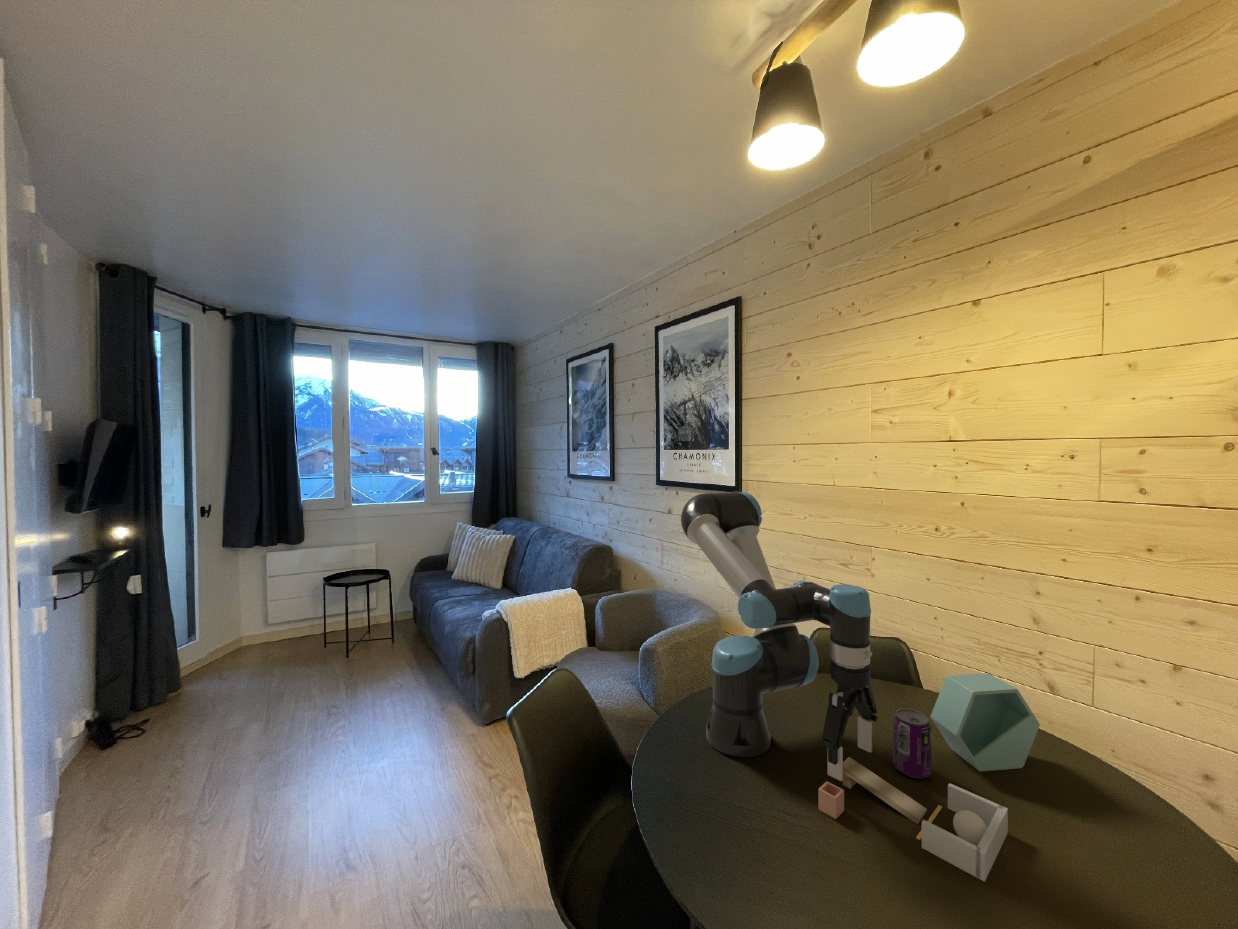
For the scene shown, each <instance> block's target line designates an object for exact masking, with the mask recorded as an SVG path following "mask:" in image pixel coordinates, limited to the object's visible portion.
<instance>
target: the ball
mask: <svg viewBox="0 0 1238 929" xmlns="http://www.w3.org/2000/svg"><path fill="white" fill-rule="evenodd" d="M952 825H953V829H954V831H955V833H956V835H957V836H958V837H960V838H962V839H964V840H966V841H967V842H969V843H971V844H973V845H975V846H978V845H979V843H980V841H981V839H982V837H983V835H984V833H985V831H986V830H987V828H988V827H986V825H985V823H984V822H983V820H982V819H981V818H980V817H979V816H978V815H976V814H975V813H973V812H971V811H967V810H962V811H959V812H955V814H954V816H953V819H952Z"/></svg>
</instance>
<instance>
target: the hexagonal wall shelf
mask: <svg viewBox="0 0 1238 929" xmlns="http://www.w3.org/2000/svg"><path fill="white" fill-rule="evenodd" d="M929 717H930V719H931V721H932V722H933V724H934V725H935V726H936V728H937V729H938V731H939V732H940V734H941V735H942V738H943V739H944V740H945V741H946V743H947V745H948V746H949V748H950V749H951V750H952V751H953V752H954V753H955V754H957V755H958V756H959V757H960V758H961V759H963V761H965V762H967V763H968V764H969V765H970V766H972V767H973V768H974V769H975V770H977V771H978V772H989V771H990V772H991V771H992V772H993V771H1002V770H1003V771H1004V770H1005V771H1006V770H1015V769H1022V768H1023V767H1024V766H1025V763H1026V761H1027V758H1028V756H1029V754H1030V751H1031V748H1032V746H1033V744H1034V741H1035V738H1036V736H1037V733H1038V731H1039V728H1040V725H1041V724H1040V722H1039V720H1038V719H1037V718H1036V716H1035V714H1034V713H1033V711H1032V710H1031V707H1030V706H1029V704H1028V703H1027V702H1026V700H1025V698H1024V697H1023V696H1022V694H1021V692H1020V690H1018V688H1016V687H1014V686H1012V685H1011V684H1009V683H1007V682H1005V681H1003V680H1001V679H999V678H998V677H995V676H994V675H992V674H990V673H988V672H985V673H983V672H982V673H968V674H967V673H966V674H956V675H955V674H951V675H950V674H949V675H946V676H945V679H944V681H943V683H942V686H941V688H940V691H939V694H938V696H937V699H936V701H935V704H934V706H933V709H932V711H931V714H930V716H929Z"/></svg>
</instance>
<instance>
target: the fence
mask: <svg viewBox="0 0 1238 929" xmlns="http://www.w3.org/2000/svg"><path fill="white" fill-rule="evenodd" d="M947 809H949V810H950V811H952V812H954V813H957V812H959V811H962V810H967V811H971V812H973V813H975V814H976V815H978V816H979V817H980V818H981V819H982V820H983V822H984V823H985V825H986V827H987V830H986V831H985V833H984V835H983V837H982V839H981V841H980V843H979V845H978V846H975V845H973V844H971V843H969V842H967V841H966V840H964V839H962V838H960V837H959V836H958V835H957V834H956V835H955V834H953V833H952V832H950V831H947V830H946V829H944V828H941V827H940V826H937V825H936V824H933V822H932V823H930V822H928V820H926V819H922V820H921V829H922V838H921V848H922V849H923V850H925V851H927V852H929V853H930V854H933V855H934V856H936V857H938V858H940V859H942V860H944V861H945V862H947V863H949V864H951V865H953V866H954V867H956V868H958V869H959V870H962V871H964V872H965V873H968V874H969V875H971V876H973V877H975V878H976V879H979V880H980V881H982V882H986V880H987V878H988V876H989V873H990V871H991V869H992V868H993V865H994V864H995V861H996V859H997V857H998V855H999V852H1000V850H1001V848H1002V846H1003V844H1004V842H1005V840H1006V837H1007V836H1008V834H1009V832H1008V831H1009V821H1008V820H1009V809H1008V807H1006V806H1003V805H1000V804H999V803H996V802H994V801H992V800H989V799H987V798H984V797H982V796H980V795H977V794H975V793H973V792H970V791H968V790H967V789H964V788H961V787H959V786H957V785H954V784H952V783H948V785H947Z"/></svg>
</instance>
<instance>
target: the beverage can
mask: <svg viewBox="0 0 1238 929" xmlns="http://www.w3.org/2000/svg"><path fill="white" fill-rule="evenodd" d="M929 719H930V718H929V717H928V716H927V715H926V714H925V713H923V712H921V711H918V710H915V709H912V708H898V709H897V710H895V715H894V717H893V719H892V740H893V741H892V764H893V766H894V768H895V769H896V770H897V771H899V772H901V773H902V774H904V775H905V776H907V777H910V778H913V779H927V778H929V777H931V776H932V772H933V771H932V764H933V763H932V759H933V758H932V749H933V748H932V747H933V746H932V743H933V742H932V741H933V740H932V726H931V725H930V720H929Z"/></svg>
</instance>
